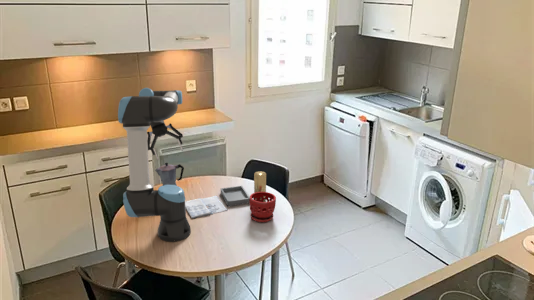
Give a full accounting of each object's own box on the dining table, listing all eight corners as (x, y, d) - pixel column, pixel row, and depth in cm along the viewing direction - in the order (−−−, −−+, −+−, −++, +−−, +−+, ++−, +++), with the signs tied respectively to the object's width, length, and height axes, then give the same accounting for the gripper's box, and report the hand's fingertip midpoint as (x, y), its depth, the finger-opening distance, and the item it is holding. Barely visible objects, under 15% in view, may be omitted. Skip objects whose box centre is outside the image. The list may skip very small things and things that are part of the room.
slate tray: (250, 203, 228) (250, 198, 227) (228, 206, 224) (228, 201, 223) (242, 190, 243) (242, 185, 242) (220, 193, 239) (220, 188, 238)
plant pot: (272, 225, 207) (273, 203, 202) (246, 222, 209) (246, 201, 205) (277, 213, 219) (278, 192, 214) (252, 210, 221) (252, 189, 217)
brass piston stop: (267, 202, 230) (267, 175, 224) (256, 204, 227) (256, 176, 222) (263, 197, 235) (263, 170, 230) (252, 198, 233) (252, 172, 228)
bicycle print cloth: (181, 203, 228) (181, 200, 227) (217, 197, 236) (217, 193, 235) (191, 220, 212) (191, 216, 211) (229, 212, 220) (229, 208, 219)
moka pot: (155, 194, 236) (152, 161, 229) (183, 189, 243) (180, 157, 236) (159, 201, 228) (156, 167, 221) (187, 196, 235) (185, 163, 228)
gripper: (178, 115, 238) (192, 148, 233) (135, 131, 232) (148, 165, 227) (177, 110, 231) (191, 144, 226) (132, 126, 225) (147, 161, 220)
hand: (170, 154), depth 227 cm, fingers open, 13 cm apart
